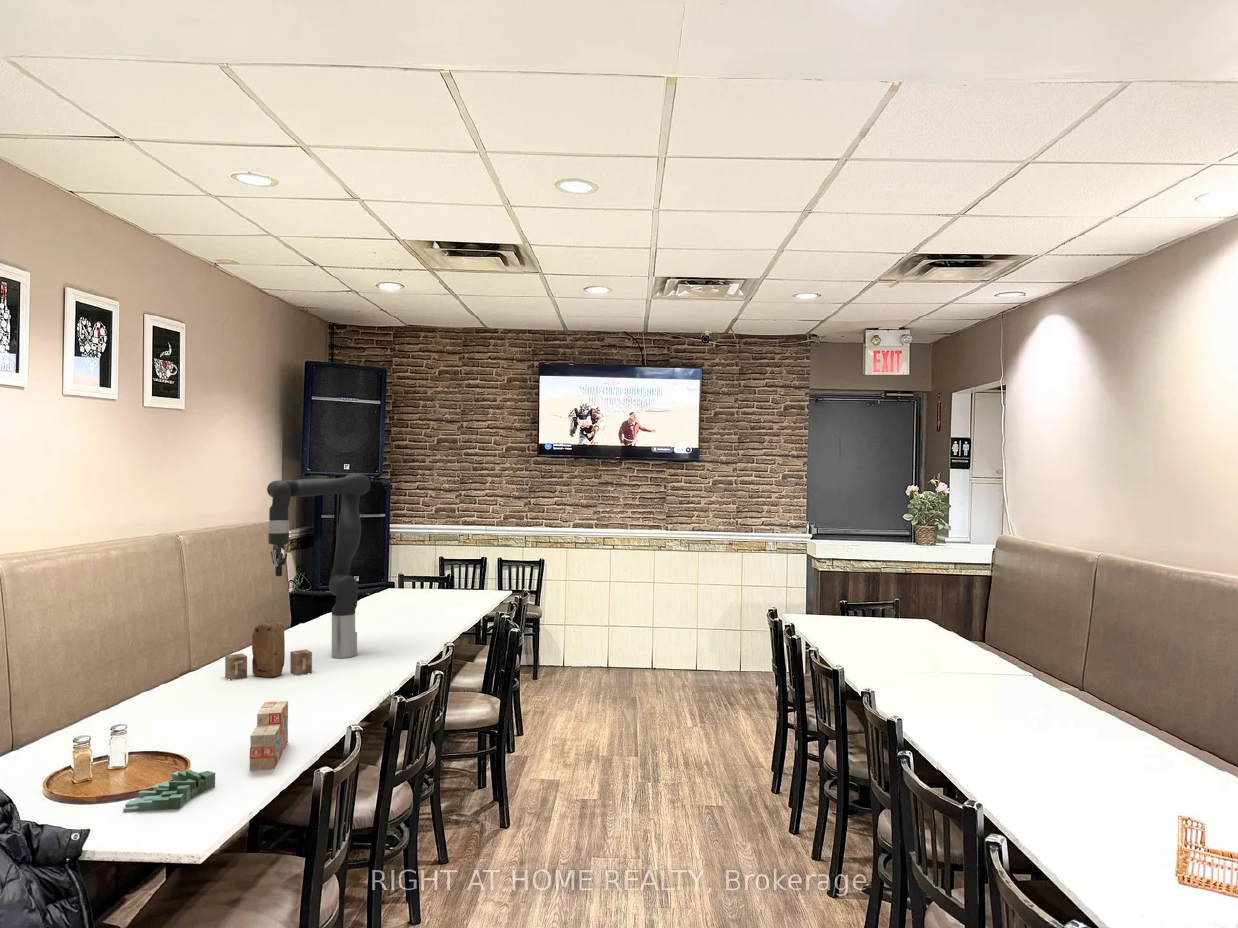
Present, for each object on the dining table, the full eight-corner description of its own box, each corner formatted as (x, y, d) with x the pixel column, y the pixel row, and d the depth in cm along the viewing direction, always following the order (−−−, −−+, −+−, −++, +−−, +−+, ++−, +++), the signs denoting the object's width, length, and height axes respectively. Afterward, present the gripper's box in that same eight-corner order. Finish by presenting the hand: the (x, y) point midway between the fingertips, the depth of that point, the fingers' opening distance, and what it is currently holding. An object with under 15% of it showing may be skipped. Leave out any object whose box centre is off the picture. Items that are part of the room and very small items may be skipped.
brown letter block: (242, 674, 316) (242, 653, 316) (247, 677, 311) (247, 656, 311) (225, 677, 312) (225, 655, 312) (229, 680, 307) (230, 658, 307)
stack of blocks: (275, 769, 219) (275, 722, 219) (249, 771, 218) (249, 723, 218) (288, 742, 240) (288, 699, 240) (264, 744, 239) (264, 700, 239)
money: (198, 809, 195) (198, 788, 195) (122, 814, 192) (122, 793, 192) (223, 777, 215) (223, 758, 215) (154, 781, 212) (154, 762, 212)
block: (286, 673, 317) (286, 620, 317) (274, 678, 310) (274, 624, 310) (261, 671, 320) (261, 619, 320) (248, 676, 313) (248, 622, 313)
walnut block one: (306, 670, 323) (306, 649, 323) (312, 673, 318) (312, 652, 318) (290, 672, 319) (290, 651, 319) (296, 675, 315) (296, 654, 314)
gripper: (294, 532, 327) (294, 577, 327) (283, 530, 337) (282, 573, 338) (274, 533, 322) (274, 578, 323) (263, 531, 333) (263, 574, 333)
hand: (278, 575), depth 330 cm, fingers closed
